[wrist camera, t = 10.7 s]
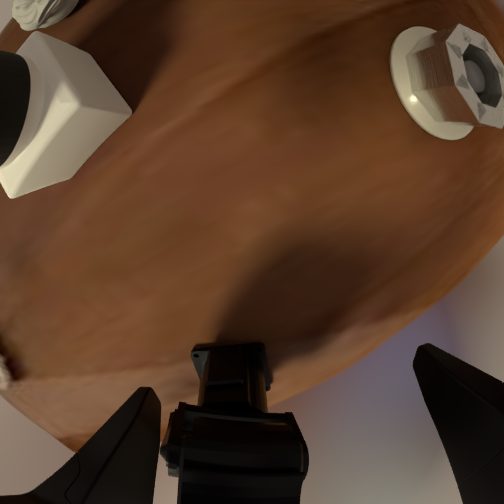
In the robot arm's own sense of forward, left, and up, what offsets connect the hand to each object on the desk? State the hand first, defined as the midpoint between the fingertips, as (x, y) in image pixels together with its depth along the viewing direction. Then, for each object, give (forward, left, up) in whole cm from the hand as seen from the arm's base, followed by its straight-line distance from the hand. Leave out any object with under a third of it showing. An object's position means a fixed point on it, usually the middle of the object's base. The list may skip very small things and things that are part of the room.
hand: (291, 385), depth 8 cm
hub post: (+12, -16, -12) cm, 24 cm away
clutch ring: (+12, -16, -12) cm, 23 cm away
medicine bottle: (+12, +12, -13) cm, 21 cm away
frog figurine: (+23, +13, -13) cm, 29 cm away
